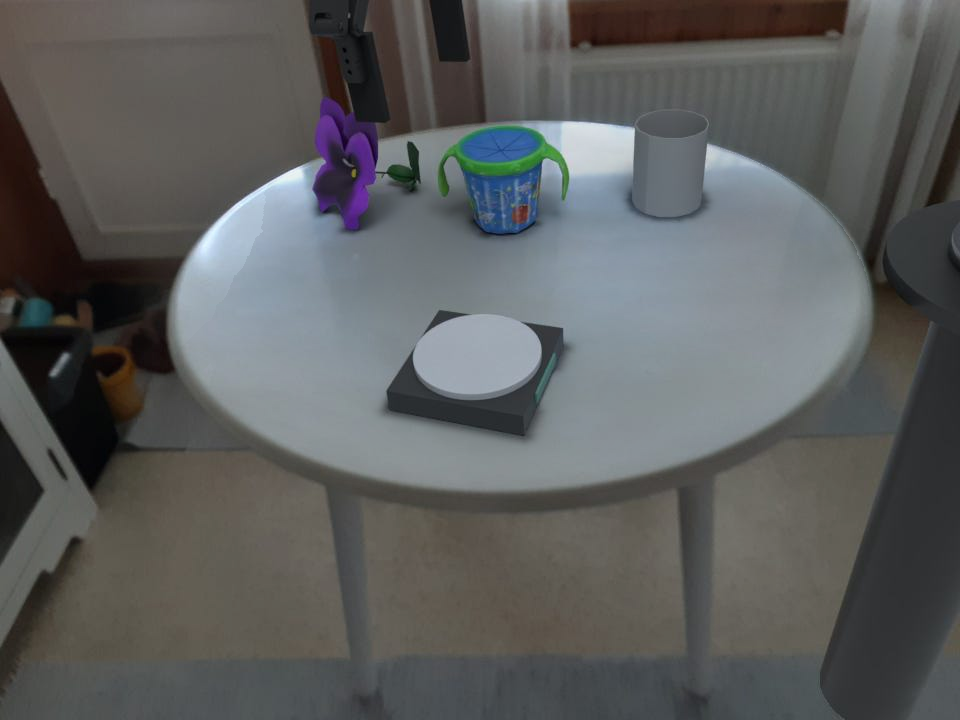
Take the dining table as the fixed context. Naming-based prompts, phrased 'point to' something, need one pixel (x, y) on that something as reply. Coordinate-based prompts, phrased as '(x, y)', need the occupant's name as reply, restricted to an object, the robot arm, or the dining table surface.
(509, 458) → the dining table surface
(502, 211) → the snack cup
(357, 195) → the flower
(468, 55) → the robot arm
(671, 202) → the cup
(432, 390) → the scale
